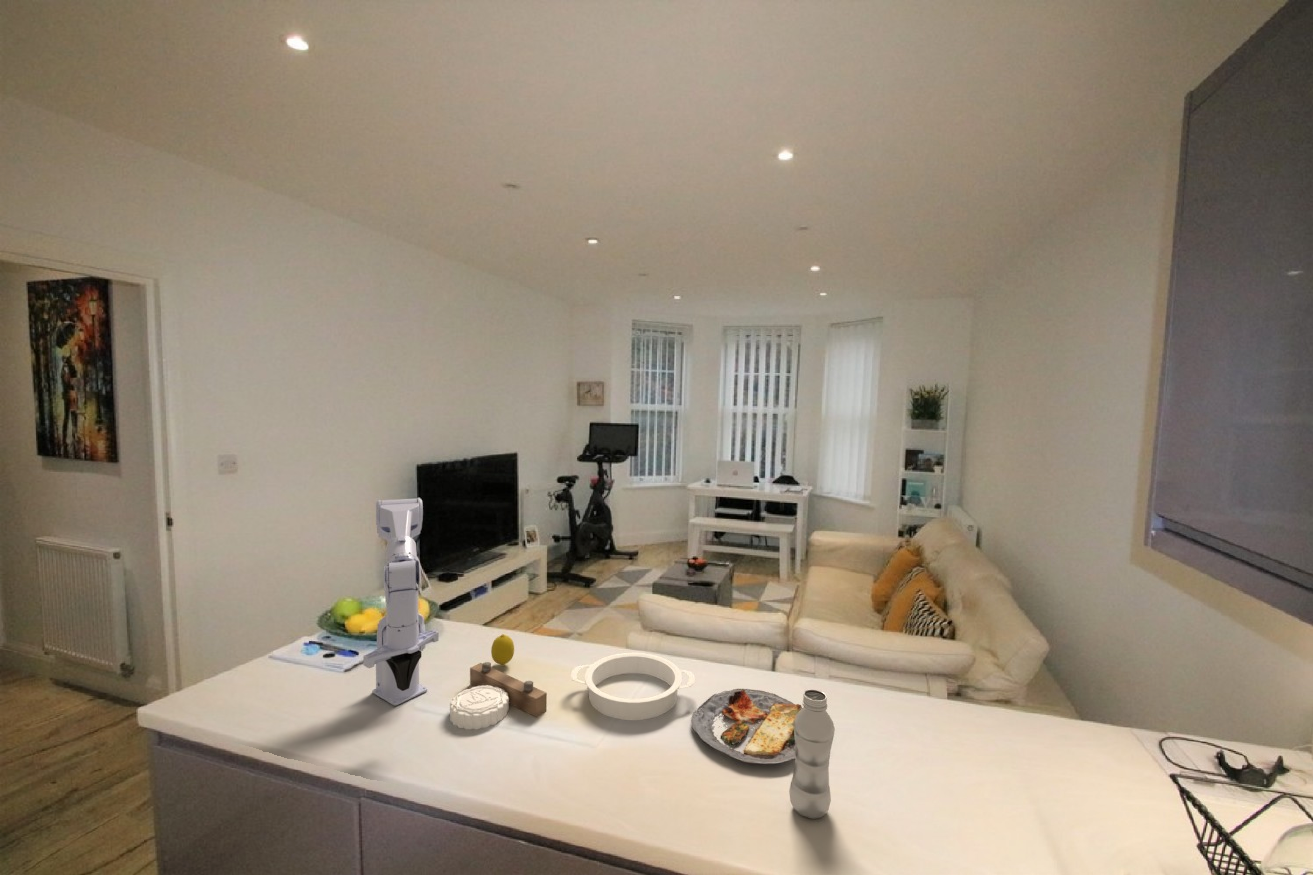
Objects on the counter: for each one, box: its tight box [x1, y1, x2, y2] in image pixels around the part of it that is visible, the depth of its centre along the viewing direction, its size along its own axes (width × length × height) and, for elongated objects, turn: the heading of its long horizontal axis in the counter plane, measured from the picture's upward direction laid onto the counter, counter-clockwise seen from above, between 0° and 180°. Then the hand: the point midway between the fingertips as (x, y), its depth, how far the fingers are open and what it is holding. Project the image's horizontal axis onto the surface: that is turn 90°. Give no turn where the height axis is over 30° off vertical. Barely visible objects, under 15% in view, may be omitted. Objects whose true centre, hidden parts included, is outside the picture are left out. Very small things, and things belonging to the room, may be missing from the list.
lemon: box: [490, 634, 515, 667], centre depth 137 cm, size 6×6×8 cm
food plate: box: [690, 688, 803, 765], centre depth 113 cm, size 25×23×4 cm
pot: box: [570, 652, 696, 721], centre depth 125 cm, size 29×22×5 cm
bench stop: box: [469, 661, 548, 718], centre depth 123 cm, size 22×3×6 cm, turn 56°
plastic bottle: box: [788, 688, 836, 820], centre depth 90 cm, size 6×7×20 cm
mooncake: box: [449, 685, 510, 730], centre depth 116 cm, size 12×12×4 cm
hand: (403, 688), depth 108 cm, fingers closed
